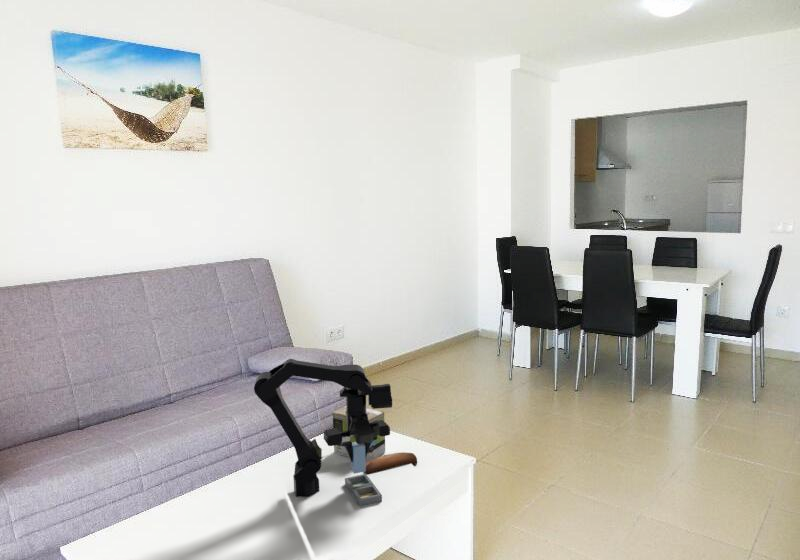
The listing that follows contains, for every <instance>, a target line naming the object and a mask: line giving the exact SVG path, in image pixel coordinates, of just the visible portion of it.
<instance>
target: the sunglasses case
mask: <svg viewBox="0 0 800 560" xmlns="http://www.w3.org/2000/svg"><path fill="white" fill-rule="evenodd" d="M409 464H411V465H414V464H415V465H417V464H418V458H417V456H416V454H415V453H412V452H395V453H389V454H384V455H383V454H382V455H381V456H379V457H377V458H376V459H374V460H370V461H367V462H366V471H365V474H366V475H370V474H374V473H378V472H383V471H386V470H390V469H392V468H397V467H401V466H405V465H409Z"/></svg>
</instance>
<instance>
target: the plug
mask: <svg viewBox="0 0 800 560" xmlns="http://www.w3.org/2000/svg"><path fill="white" fill-rule="evenodd" d="M352 454H353V462H351V461H349V462H350V470H351V471H352V473H353V474H359V473H364V472H365V471H366V460H365V445H364V443H363V444H357V443H356V442H352ZM365 473H366V472H365Z"/></svg>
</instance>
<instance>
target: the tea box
mask: <svg viewBox="0 0 800 560" xmlns="http://www.w3.org/2000/svg"><path fill="white" fill-rule="evenodd" d="M346 411H347V410H346V405H345V406H343V407H341V408H339V409H337V410H334V411H333V412H332V427H333V428H332V429H334V428H337V429H338V430H339V432H341V431H347V428H346V424H347V415H346ZM366 414H367V415H368V421H369V423H372V422H373V421H379V420H383V421H384V422H385V423H386V420H385V411H384V410H379V409H373V408H371V407H366ZM350 441H351V442H356V440H355V438H354V436H353V437H350ZM333 449H334V450H333V451H334V454H336V455H337V454H338V455H341V456H344V457H347V458H349V456H348V453H347V451H346V449H345V446H342V445H341V444H339V445H334V446H333ZM385 453H386V436H382V437H381V436H379V435H377V440H374V441H373V442H372V443H371V445H370V447H369V450H368V453H367V456H366V459H365V460H366V462H367V461H370V460H374V459H376V458H377V457H380V456H383V454H384V455H385Z"/></svg>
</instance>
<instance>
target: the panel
mask: <svg viewBox="0 0 800 560" xmlns="http://www.w3.org/2000/svg"><path fill="white" fill-rule="evenodd" d="M344 485H345V486H346V488H347V490H348V491H349V493H350V494H351V496H352V497H353V498H354V501H355V502H356V503H357V505H358V506H359V507H360V508H361V507H364V506H365V507H366V506H370V505H373V504H377V503H381V502H383V495H382V493H381V491H380V490H379V489H378V488H377V486H376V485H375V484H374V483H373V481H372V480H371V478H370V477H369V476H368V474H366V473H363V474H359V475H353V476H350V477H345V478H344Z"/></svg>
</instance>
